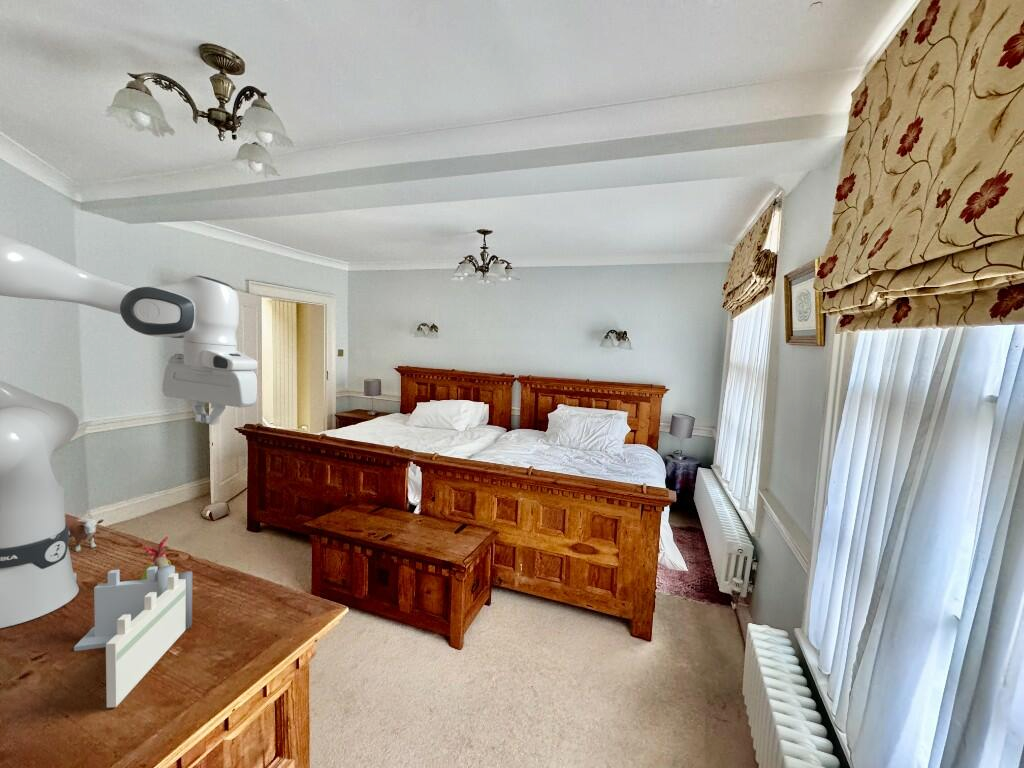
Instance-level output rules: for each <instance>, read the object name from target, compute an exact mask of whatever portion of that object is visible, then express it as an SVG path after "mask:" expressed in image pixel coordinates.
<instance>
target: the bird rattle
mask: <svg viewBox="0 0 1024 768" xmlns="http://www.w3.org/2000/svg"><path fill="white" fill-rule="evenodd" d="M168 539H169V536H165V538H163V539H162V540H161V542H160V543H159V545H158V546H157V547H158V549H155V548H154V547H149V546H143V545H142V546H140V549H141V550H144V551H145V553H146V554H147V555H148V556H150V557H152V563H153V564H149V565H147V566H146V567H145V569H144V571H143V572H142V574H141V576H140V579H139V580H146V579H147V569H148V568H149V567H155V566H158V569H160V568H162V567H164V566H169V565H172V566H174V565H173V564H172V562H171V561H170V560H169V559H168V557H167V555H166V554H165V552H163V550H164V546H165V543H166V542H167V541H168Z"/></svg>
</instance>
